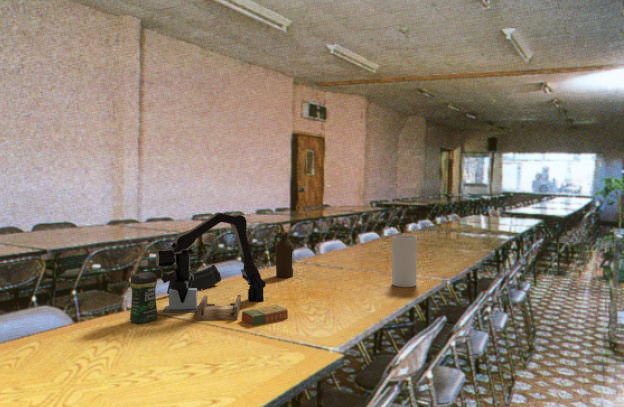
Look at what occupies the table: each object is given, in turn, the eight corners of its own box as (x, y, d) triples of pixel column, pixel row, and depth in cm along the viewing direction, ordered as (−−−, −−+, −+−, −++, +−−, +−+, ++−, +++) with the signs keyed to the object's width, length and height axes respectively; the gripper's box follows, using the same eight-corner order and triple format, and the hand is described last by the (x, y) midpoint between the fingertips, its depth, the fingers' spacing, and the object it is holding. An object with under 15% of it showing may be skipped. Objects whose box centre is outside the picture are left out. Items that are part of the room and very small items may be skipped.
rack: (240, 306, 202) (240, 294, 202) (237, 319, 183) (237, 307, 183) (204, 307, 201) (204, 295, 201) (197, 320, 182) (197, 307, 182)
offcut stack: (234, 313, 191) (234, 304, 191) (233, 318, 185) (233, 309, 185) (204, 314, 190) (204, 305, 190) (202, 318, 184) (202, 309, 184)
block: (197, 306, 199) (196, 288, 199) (196, 308, 196) (195, 289, 196) (170, 307, 198) (170, 288, 198) (169, 309, 195) (168, 290, 195)
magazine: (166, 278, 215) (215, 252, 237) (161, 277, 217) (210, 251, 239) (175, 311, 220) (222, 282, 242) (171, 310, 222) (218, 281, 244)
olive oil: (276, 278, 258) (276, 233, 256) (273, 274, 268) (273, 231, 267) (295, 277, 260) (295, 232, 259) (292, 274, 270) (292, 230, 269)
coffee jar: (140, 325, 176) (139, 276, 175) (126, 321, 180) (126, 273, 179) (161, 319, 184) (160, 271, 183) (148, 315, 188) (147, 269, 187)
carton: (288, 319, 185) (288, 308, 185) (252, 327, 175) (252, 315, 175) (276, 314, 192) (276, 304, 191) (241, 321, 182) (241, 310, 182)
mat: (204, 306, 202) (204, 305, 202) (200, 312, 193) (200, 311, 193) (166, 306, 201) (166, 306, 201) (161, 312, 192) (161, 312, 192)
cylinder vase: (389, 286, 241) (390, 237, 239) (394, 281, 252) (395, 234, 251) (414, 288, 236) (414, 239, 235) (418, 283, 248) (419, 236, 246)
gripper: (167, 260, 205) (168, 296, 206) (157, 269, 186) (158, 308, 187) (194, 260, 206) (194, 295, 207) (186, 268, 187) (186, 307, 188)
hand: (183, 301), depth 197 cm, fingers closed on block, 3 cm apart
